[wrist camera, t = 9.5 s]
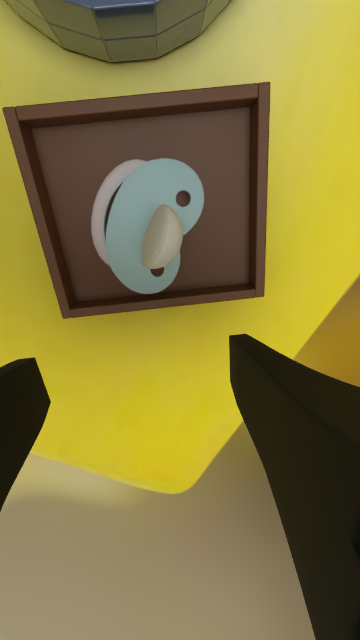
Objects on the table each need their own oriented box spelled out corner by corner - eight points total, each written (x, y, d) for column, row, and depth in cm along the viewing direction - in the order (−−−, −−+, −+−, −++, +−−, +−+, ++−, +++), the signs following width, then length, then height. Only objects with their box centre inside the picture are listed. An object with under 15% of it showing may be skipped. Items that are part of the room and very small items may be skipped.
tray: (72, 308, 19) (62, 319, 18) (21, 119, 15) (1, 107, 13) (254, 288, 20) (264, 296, 18) (257, 96, 15) (270, 81, 13)
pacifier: (81, 260, 18) (167, 292, 19) (38, 285, 12) (165, 329, 13) (113, 137, 15) (210, 182, 16) (78, 95, 9) (232, 167, 10)
